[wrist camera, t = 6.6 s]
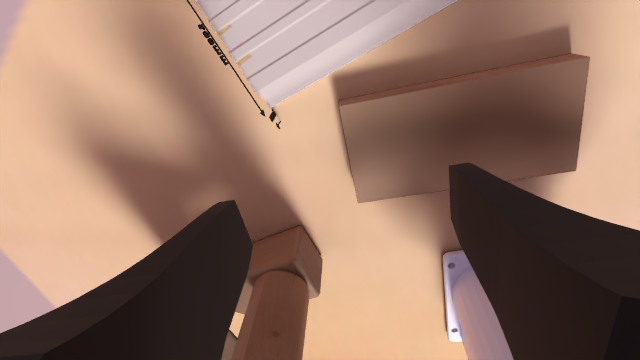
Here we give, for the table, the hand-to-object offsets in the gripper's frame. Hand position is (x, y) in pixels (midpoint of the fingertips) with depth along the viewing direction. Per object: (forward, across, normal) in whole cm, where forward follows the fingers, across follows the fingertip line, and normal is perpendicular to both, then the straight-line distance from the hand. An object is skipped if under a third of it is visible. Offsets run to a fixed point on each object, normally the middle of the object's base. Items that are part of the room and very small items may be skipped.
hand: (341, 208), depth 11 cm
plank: (+9, -6, +2) cm, 11 cm away
